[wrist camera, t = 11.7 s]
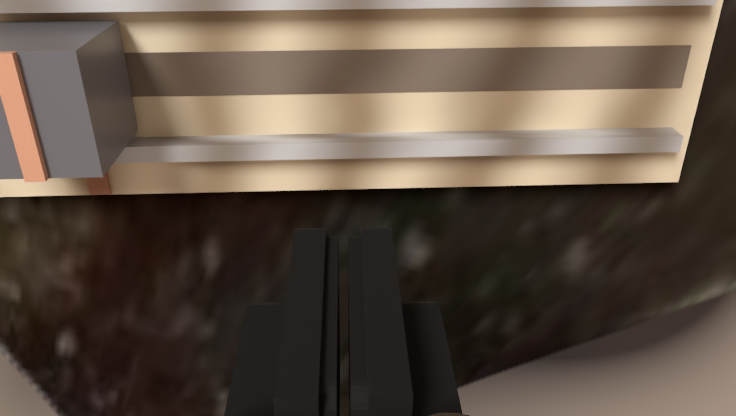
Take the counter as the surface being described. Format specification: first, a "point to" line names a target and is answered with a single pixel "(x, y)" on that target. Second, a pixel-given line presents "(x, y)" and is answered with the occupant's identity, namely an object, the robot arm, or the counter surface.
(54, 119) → the fader knob
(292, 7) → the fader board
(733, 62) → the counter surface
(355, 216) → the counter surface
